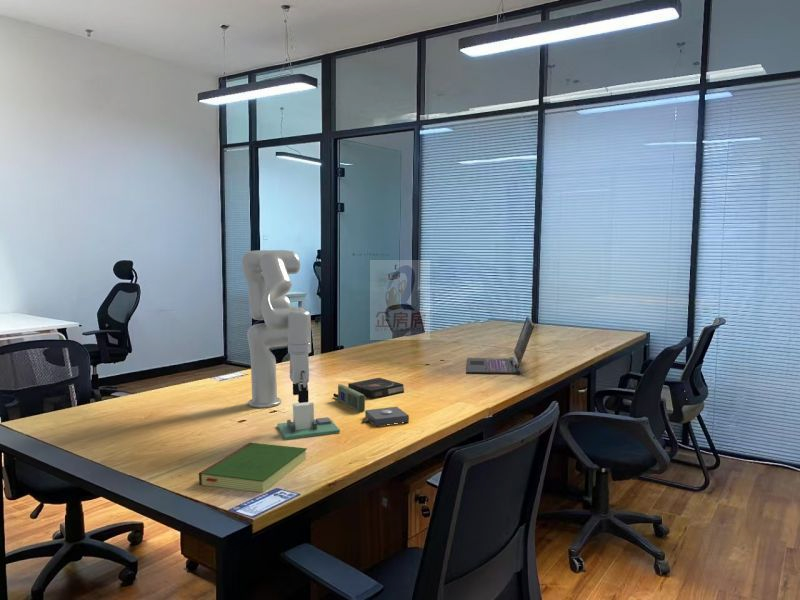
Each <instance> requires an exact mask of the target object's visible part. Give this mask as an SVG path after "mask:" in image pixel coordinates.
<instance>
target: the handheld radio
mask: <svg viewBox="0 0 800 600" xmlns="http://www.w3.org/2000/svg"><path fill="white" fill-rule="evenodd" d="M333 397H334V398H336V399H337V402H338V403H341V404H343V405H345V406H347V407H349V408H350V409H352V410H354V411H356V412H357V413H364V412H365V410H366V397H365V395H363V394H361V393H359V392H357V391H355V390H353V389H351V388H349V387H348V385H347V386H346V385H345V384H342V383H338V384H337V393H333ZM363 411H364V412H363Z"/></svg>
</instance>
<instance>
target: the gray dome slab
mask: <svg viewBox="0 0 800 600" xmlns="http://www.w3.org/2000/svg"><path fill="white" fill-rule="evenodd" d="M364 413H365V418H366V419H365V420H364V419H363V420H361V423H362V424H364V422H367V423H371V422H372V423H373V424H374V425H375V427H376V426H379V427H381V426H380V425H386V426H388V425H387V424H394V423H402V422H410V415H409V414H408V413H406V412H405V411H404V410H402V409H401V408H400V407H398V406H389V407H382V408H374V409H365V411H364ZM370 421H371V422H370ZM372 423H371V424H372ZM373 424H372V425H373ZM402 424H403V423H402ZM374 425H373V426H374ZM394 425H395V424H394Z"/></svg>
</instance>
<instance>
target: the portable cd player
mask: <svg viewBox="0 0 800 600" xmlns="http://www.w3.org/2000/svg"><path fill="white" fill-rule="evenodd" d="M347 387H349V388H351V389H353V390H355V391H357V392H359V393H361V394H363V395H365V399H369V400H376V399H380V398H386V397H388V396H389V397H390V396H394V395H398V394H404V392H405V387H404V383H400V382H398V381H397V382H396V381H393V380H389V379H385V378H382V377H375V378H370V379H366V380H365V379H364V380H359V381H355V382H349V383H348V384H347Z"/></svg>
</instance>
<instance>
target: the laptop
mask: <svg viewBox="0 0 800 600" xmlns="http://www.w3.org/2000/svg"><path fill="white" fill-rule="evenodd" d="M534 328H535V323H534V322H533V321H532V320H531V318H530V317H529V316H526V318H525V321H524V322H523V326H522V329H521V331H520V334H519V337H518V340H517V342H516V345H515V347H514V351H513V353H512V356H509V358H503V357H501V358H499V357H494V358H493V357H492V358H491V357H467V365H466V374H477V375H478V374H479V375H481V374H482V375H514V376H515V375H517V376H518V375H521V374H522V369H521V368H520V365H521V363H522V361H523V358H524V355H525V352H526V349H527V347H528V344H529V341H530V340H531V336H532V333H533V331H534Z"/></svg>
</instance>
